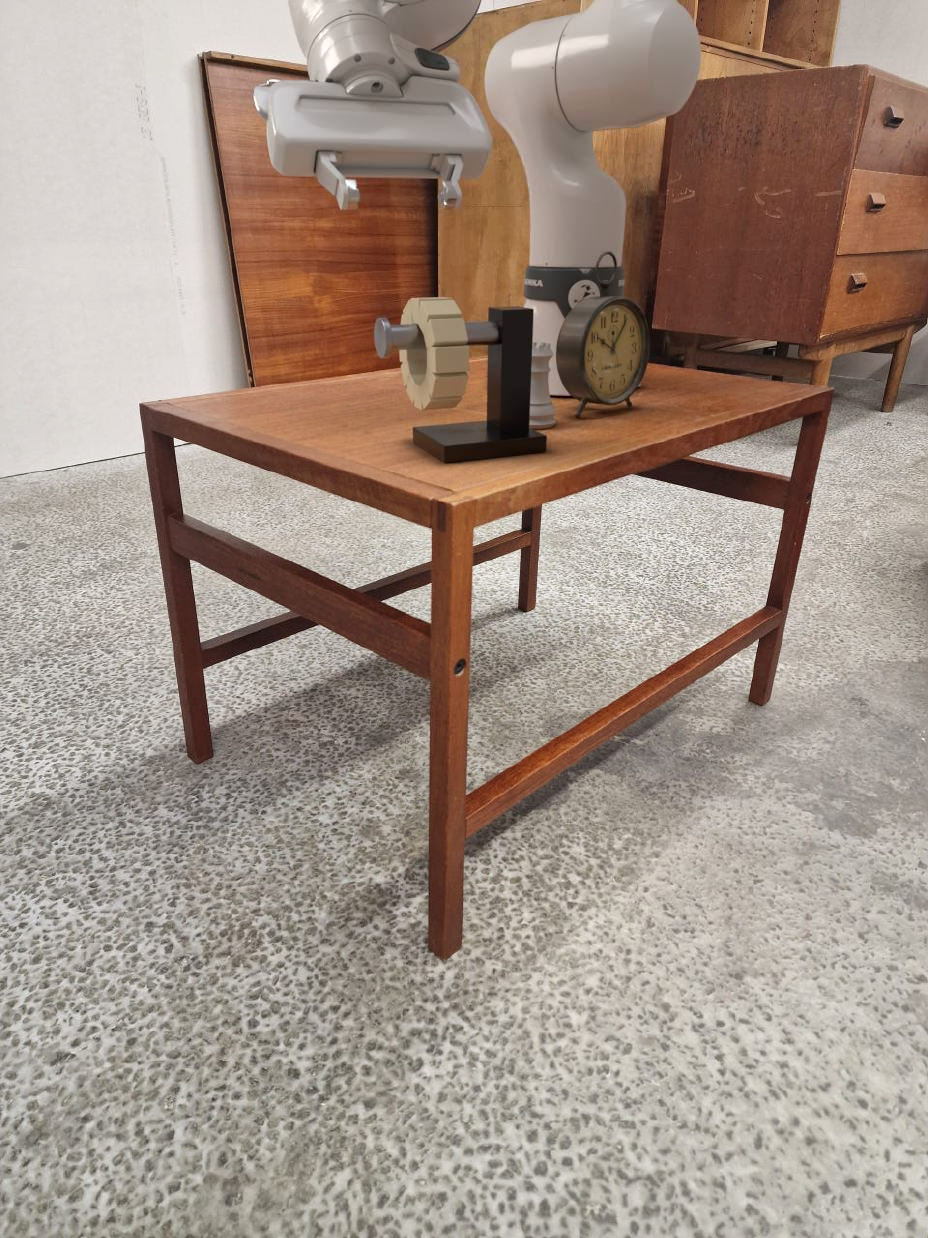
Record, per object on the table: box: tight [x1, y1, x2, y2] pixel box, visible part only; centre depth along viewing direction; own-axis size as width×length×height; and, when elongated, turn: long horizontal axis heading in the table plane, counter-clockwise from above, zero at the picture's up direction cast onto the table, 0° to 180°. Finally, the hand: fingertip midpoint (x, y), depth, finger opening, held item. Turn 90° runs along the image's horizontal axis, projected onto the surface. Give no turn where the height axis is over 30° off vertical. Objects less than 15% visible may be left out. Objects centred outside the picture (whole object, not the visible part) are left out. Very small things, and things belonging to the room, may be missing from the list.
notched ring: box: [398, 296, 470, 411], centre depth 69 cm, size 9×3×9 cm, turn 23°
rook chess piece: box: [529, 342, 557, 430], centre depth 81 cm, size 4×4×8 cm
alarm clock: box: [556, 251, 651, 419], centre depth 85 cm, size 11×5×16 cm, turn 129°
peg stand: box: [373, 305, 548, 464], centre depth 71 cm, size 14×8×12 cm, turn 113°
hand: (403, 204), depth 70 cm, fingers open, 8 cm apart
